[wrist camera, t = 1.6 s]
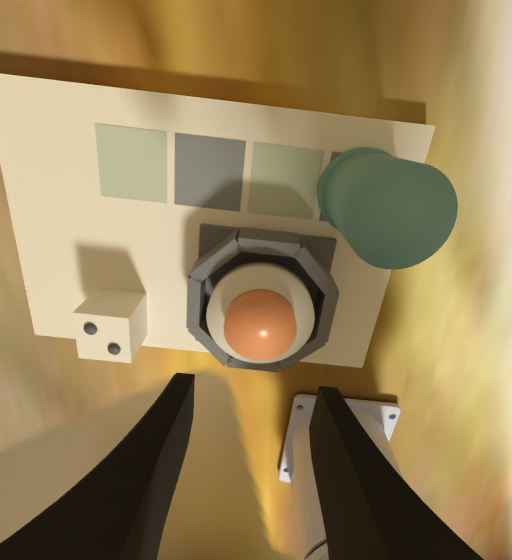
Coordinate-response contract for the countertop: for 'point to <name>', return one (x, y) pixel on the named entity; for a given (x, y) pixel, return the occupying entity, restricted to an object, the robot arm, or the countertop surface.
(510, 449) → the countertop surface
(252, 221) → the game board
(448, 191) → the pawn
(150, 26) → the countertop surface
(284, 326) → the dome button
